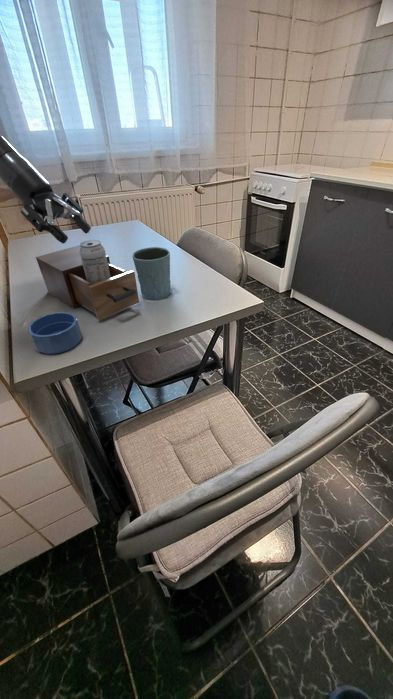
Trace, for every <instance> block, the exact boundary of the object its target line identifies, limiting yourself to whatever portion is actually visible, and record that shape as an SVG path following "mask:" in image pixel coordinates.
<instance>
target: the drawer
mask: <svg viewBox="0 0 393 699" xmlns="http://www.w3.org/2000/svg"><path fill="white" fill-rule="evenodd" d="M108 267H109V272H110V277H111V278H109V279H106V280H104V281H101V282H98V283H95V284H93V285H91V283H90V282H88V281H87V279H86V275H85V271H84V268H82V269H78V270H75V271H72V272H69V273H66V274H67V277H68V281H69V284H70V287H71V291H72V294H73V297H74V300H75V302H77V303H79V304H80V305H82V306H81V307H83V308H85V309H87V310H89V311H90V312H92V313H93V314H95V318H96V319H97V320H98V321H101V320H103V319H105V318H108V317H110V316H112V315H115V314H116V313H119V312H121V311H123V310H125V309H128V308H129V307H132V306H134V305H136V304H138V303H140V298H139V293H138V286H137V279H136V278H137V277H136V273H135V270H129V271H127V270H125V269H123V268H121V267H118V266H116V265H115V264H114V265H113V264H111V263H110V264H109V263H108Z"/></svg>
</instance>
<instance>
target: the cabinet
mask: <svg viewBox="0 0 393 699" xmlns="http://www.w3.org/2000/svg"><path fill="white" fill-rule="evenodd" d="M80 247H81V246H80V244H79V245H78V244H77V245H75V246H71V247H68V248H65V249H64V248H63V249H60V250H56V251H53V252H49V253H46V254H42V255H39V256H35V259H36V260H35V261H36V262H37V265H38V268H39V270H40V274H41V276H42V279H43V282H44V285H45V287H46V290H47V292H48V293H49V294H50V295H52V296H53V297H55V298H56V299H58V300H60V301H61V302H63V303H64V304H66V305H67V306H69V307H70V308H72V309H77V308H79V307H83V306H82V305H80V304H79V303H77V302H75V300H74V297H73V294H72V291H71V287H70V284H69V281H68V277H67V274H66V273H69V272H72V271H75V270H78V269H82V268H83V264H82V260H81V256H80V252H79V251H80ZM106 258H107V263H109V264H111V261H110V256H109V255H106Z"/></svg>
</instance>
